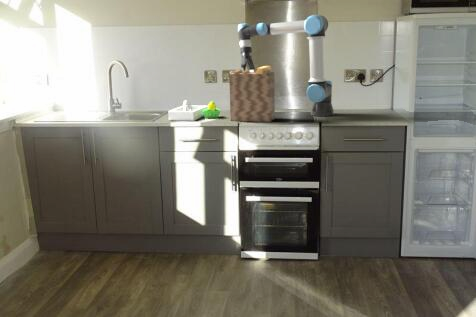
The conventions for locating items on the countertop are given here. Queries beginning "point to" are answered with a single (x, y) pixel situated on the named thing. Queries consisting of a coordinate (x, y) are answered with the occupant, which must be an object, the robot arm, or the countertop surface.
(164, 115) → the countertop surface
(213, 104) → the fruit basket
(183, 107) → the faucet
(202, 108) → the tray
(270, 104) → the brown patterned box
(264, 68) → the bar
